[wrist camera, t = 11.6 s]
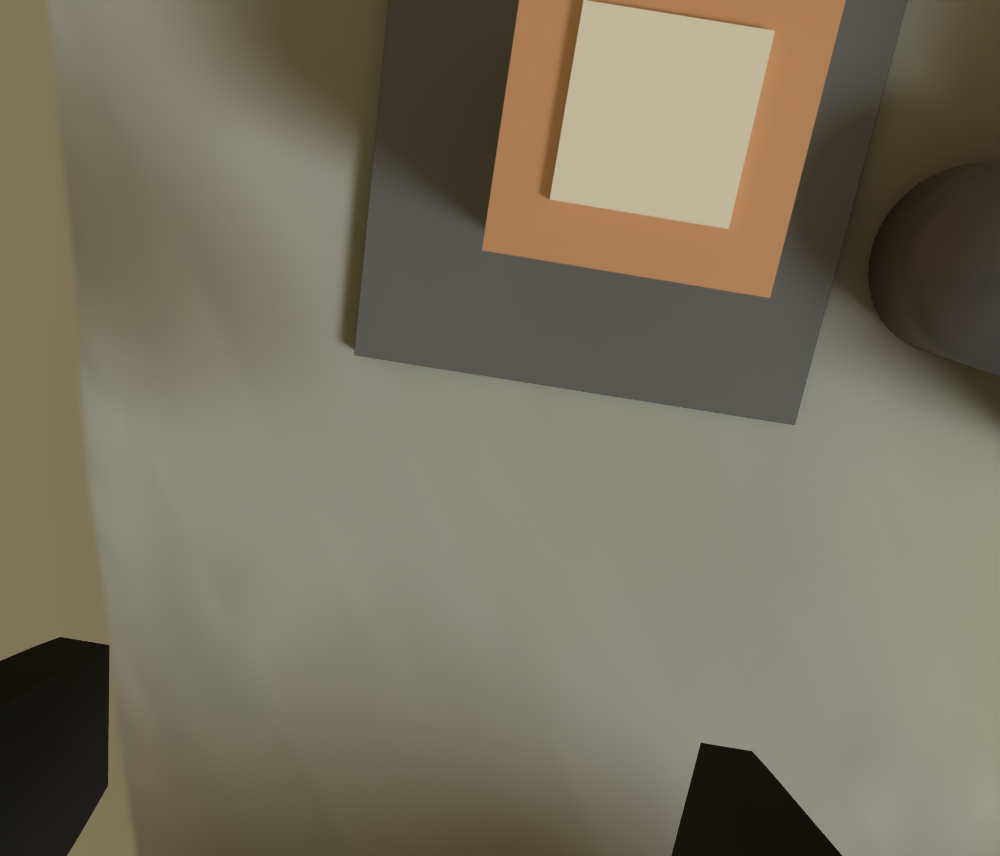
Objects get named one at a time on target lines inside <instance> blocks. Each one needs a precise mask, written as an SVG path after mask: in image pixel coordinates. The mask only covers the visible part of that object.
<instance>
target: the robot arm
mask: <svg viewBox="0 0 1000 856" xmlns="http://www.w3.org/2000/svg"><path fill="white" fill-rule="evenodd" d="M108 717H109V645H105V644H99V643H93V642H87V641H81V640H75V639H69V638H63V637H59V638H56V639H54V640H51V641H48V642H46V643H43V644H40V645H38V646H35V647H33V648H30V649H28V650H25V651H23V652H20V653H18V654H16V655H13V656H11V657H9V658H6V659H4V660H2V661H0V856H67V854H68V853H69V851H70V850H71V848H72V846H73V845H74V843H75V841H76V839H77V838H78V837H79V835H80V833H81V832H82V830H83V828H84V826H85V825H86V823H87V821H88V820H89V818H90V816H91V814H92V812H93V811H94V809H95V807H96V806H97V804H98V802H99V800H100V798H101V797H102V795H103V793H104V792H105V790H106V788H107V787H108V724H109V722H108V721H109V718H108ZM672 856H842V855H841V854H840V853H839V851H838V850H837V849H836V848H835V847H834V846H833V845H832V843H831V842H830V841H829V840H828V839H827V838H826V836H825V835H824V834H823V833H822V832H821V830H820V829H819V828H818V827H817V826H816V825H815V823H814V822H813V821H812V820H811V819H810V818H809V816H808V815H807V814H806V813H805V812H804V811H803V809H802V808H801V807H800V806H799V805H798V804H797V802H796V801H795V800H794V799H793V798H792V796H791V795H790V794H789V793H788V792H787V791H786V789H785V788H784V787H783V786H782V785H781V784H780V782H779V781H778V780H777V779H776V778H775V777H774V775H773V774H772V773H771V772H770V771H769V770H768V769H767V767H766V766H765V765H764V764H763V763H762V762H761V761H760V760H759V758H758V757H757V756H756V755H755V754H754V753H753V752H752V751H747V750H741V749H735V748H729V747H723V746H716V745H710V744H704V743H701V745H700V749H699V753H698V757H697V760H696V764H695V768H694V772H693V776H692V779H691V783H690V787H689V791H688V795H687V799H686V802H685V806H684V810H683V814H682V818H681V822H680V825H679V829H678V833H677V837H676V841H675V844H674V848H673V852H672Z"/></svg>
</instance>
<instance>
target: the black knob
mask: <svg viewBox="0 0 1000 856" xmlns="http://www.w3.org/2000/svg"><path fill="white" fill-rule="evenodd" d="M868 275H869V287H870V292H871V297H872V300H873V303H874V306H875V308H876V310H877V312H878V314H879V316H880V318H881V319H882V320H883V322H884V323H885V325H886V326H887V327H888V328H889V329H890V330H891V331H892V332H893V333H894V334H895V335H896V336H897V337H899V338H900V339H901V340H903V341H904V342H906V343H908V344H909V345H911V346H913V347H915V348H918V349H921V350H923V351H926V352H929V353H932V354H935V355H938V356H941V357H944V358H947V359H950V360H953V361H956V362H959V363H962V364H965V365H968V366H971V367H974V368H977V369H979V370H982V371H985V372H988V373H991V374H994V375H997V376H1000V160H999V161H992V162H984V163H977V164H970V165H964V166H959V167H954V168H951V169H948V170H945V171H942V172H940V173H938V174H935V175H933V176H931V177H929V178H928V179H926V180H924V181H923V182H921V183H919V184H918V185H917V186H915V187H914V188H913V189H911V190H910V191H909V192H908V193H907V194H906V195H904V196H903V197H902V198H901V199H900V200H899V201H898V202H897V204H896V205H895V206H894V207H893V209H892V210H891V211H890V212H889V214H888V215H887V217H886V218H885V220H884V222H883V223H882V225H881V227H880V229H879V231H878V233H877V235H876V238H875V241H874V244H873V247H872V250H871V255H870V260H869V272H868Z"/></svg>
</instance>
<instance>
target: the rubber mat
mask: <svg viewBox="0 0 1000 856" xmlns="http://www.w3.org/2000/svg"><path fill="white" fill-rule="evenodd" d="M906 4H907V0H846V1H845V5H844V9H843V13H842V17H841V21H840V25H839V29H838V33H837V37H836V41H835V45H834V49H833V53H832V57H831V60H830V64H829V68H828V72H827V76H826V80H825V84H824V88H823V92H822V96H821V100H820V104H819V108H818V112H817V116H816V119H815V123H814V127H813V131H812V135H811V139H810V143H809V147H808V151H807V155H806V159H805V163H804V167H803V171H802V174H801V178H800V182H799V186H798V190H797V194H796V198H795V202H794V206H793V210H792V214H791V218H790V222H789V226H788V230H787V233H786V237H785V241H784V245H783V249H782V253H781V257H780V261H779V265H778V269H777V273H776V277H775V281H774V285H773V289H772V292H771V296H770V298H766V297H760V296H754V295H748V294H742V293H736V292H730V291H724V290H718V289H712V288H706V287H700V286H694V285H688V284H682V283H676V282H670V281H664V280H658V279H652V278H646V277H640V276H634V275H628V274H622V273H616V272H610V271H604V270H598V269H592V268H586V267H580V266H574V265H568V264H562V263H556V262H549V261H543V260H537V259H531V258H525V257H519V256H513V255H507V254H501V253H495V252H489V251H483V250H482V247H483V240H484V233H485V226H486V220H487V213H488V206H489V200H490V193H491V186H492V179H493V173H494V166H495V159H496V153H497V146H498V139H499V132H500V126H501V119H502V112H503V105H504V99H505V92H506V85H507V79H508V72H509V65H510V58H511V52H512V45H513V38H514V32H515V25H516V18H517V11H518V5H519V0H389V6H388V16H387V26H386V36H385V46H384V57H383V67H382V77H381V87H380V97H379V107H378V118H377V128H376V138H375V148H374V158H373V168H372V179H371V189H370V199H369V209H368V219H367V229H366V240H365V250H364V260H363V270H362V280H361V291H360V301H359V311H358V321H357V331H356V341H355V352H354V355H356V356H363V357H369V358H375V359H382V360H388V361H394V362H400V363H407V364H413V365H419V366H426V367H432V368H438V369H445V370H451V371H457V372H463V373H470V374H476V375H482V376H489V377H495V378H501V379H508V380H514V381H520V382H526V383H533V384H539V385H545V386H552V387H558V388H564V389H571V390H577V391H583V392H590V393H596V394H602V395H608V396H615V397H621V398H627V399H634V400H640V401H646V402H653V403H659V404H665V405H671V406H678V407H684V408H690V409H697V410H703V411H709V412H716V413H722V414H728V415H734V416H741V417H747V418H753V419H760V420H766V421H772V422H779V423H785V424H791V425H795V422H796V418H797V414H798V410H799V407H800V403H801V399H802V395H803V392H804V388H805V384H806V380H807V377H808V373H809V369H810V365H811V361H812V358H813V354H814V350H815V346H816V343H817V339H818V335H819V331H820V328H821V324H822V320H823V316H824V312H825V309H826V305H827V301H828V297H829V294H830V290H831V286H832V282H833V279H834V275H835V271H836V267H837V263H838V260H839V256H840V252H841V248H842V245H843V241H844V237H845V233H846V230H847V226H848V222H849V218H850V215H851V211H852V207H853V203H854V199H855V196H856V192H857V188H858V184H859V181H860V177H861V173H862V169H863V166H864V162H865V158H866V154H867V150H868V147H869V143H870V139H871V135H872V132H873V128H874V124H875V120H876V117H877V113H878V109H879V105H880V102H881V98H882V94H883V90H884V86H885V83H886V79H887V75H888V71H889V68H890V64H891V60H892V56H893V53H894V49H895V45H896V41H897V37H898V34H899V30H900V26H901V22H902V19H903V15H904V11H905V7H906Z"/></svg>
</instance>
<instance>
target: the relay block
mask: <svg viewBox="0 0 1000 856" xmlns="http://www.w3.org/2000/svg"><path fill="white" fill-rule="evenodd" d="M845 1H846V0H519V5H518V11H517V18H516V25H515V32H514V38H513V45H512V52H511V58H510V65H509V72H508V79H507V85H506V92H505V99H504V105H503V112H502V119H501V126H500V132H499V139H498V146H497V153H496V159H495V166H494V173H493V179H492V186H491V193H490V200H489V206H488V213H487V220H486V226H485V233H484V240H483V247H482V250H483V251H489V252H495V253H501V254H507V255H513V256H519V257H525V258H531V259H537V260H543V261H549V262H556V263H562V264H568V265H574V266H580V267H586V268H592V269H598V270H604V271H610V272H616V273H622V274H628V275H634V276H640V277H646V278H652V279H658V280H664V281H670V282H676V283H682V284H688V285H694V286H700V287H706V288H712V289H718V290H724V291H730V292H736V293H742V294H748V295H754V296H760V297H766V298H770V296H771V292H772V289H773V285H774V281H775V277H776V273H777V269H778V265H779V261H780V257H781V253H782V249H783V245H784V241H785V237H786V233H787V230H788V226H789V222H790V218H791V214H792V210H793V206H794V202H795V198H796V194H797V190H798V186H799V182H800V178H801V174H802V171H803V167H804V163H805V159H806V155H807V151H808V147H809V143H810V139H811V135H812V131H813V127H814V123H815V119H816V116H817V112H818V108H819V104H820V100H821V96H822V92H823V88H824V84H825V80H826V76H827V72H828V68H829V64H830V60H831V57H832V53H833V49H834V45H835V41H836V37H837V33H838V29H839V25H840V21H841V17H842V13H843V9H844V5H845Z"/></svg>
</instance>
